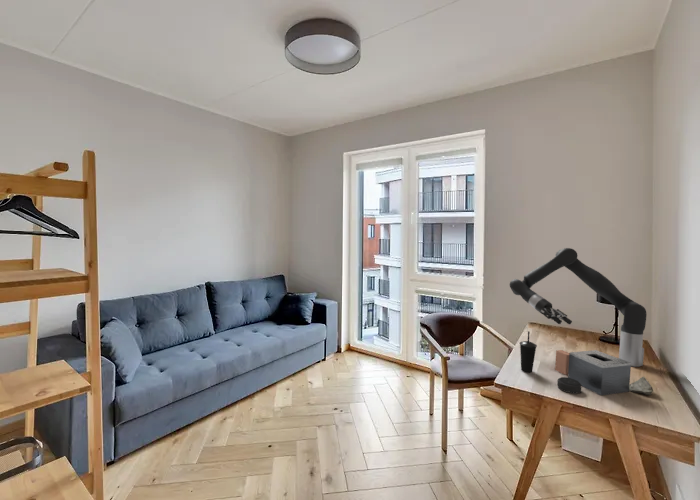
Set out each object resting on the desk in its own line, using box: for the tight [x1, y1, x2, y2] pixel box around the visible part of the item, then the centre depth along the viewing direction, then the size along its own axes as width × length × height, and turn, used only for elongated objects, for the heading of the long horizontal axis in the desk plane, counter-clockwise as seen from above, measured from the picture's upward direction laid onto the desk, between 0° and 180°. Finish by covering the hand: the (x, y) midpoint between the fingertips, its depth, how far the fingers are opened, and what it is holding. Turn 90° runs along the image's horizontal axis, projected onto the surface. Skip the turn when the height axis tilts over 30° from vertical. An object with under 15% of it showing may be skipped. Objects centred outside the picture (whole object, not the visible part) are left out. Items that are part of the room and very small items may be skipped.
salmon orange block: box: [554, 349, 570, 376], centre depth 167 cm, size 6×4×10 cm, turn 15°
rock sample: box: [629, 376, 654, 396], centre depth 148 cm, size 10×8×9 cm
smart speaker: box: [556, 376, 582, 394], centre depth 148 cm, size 9×9×4 cm
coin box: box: [567, 349, 632, 396], centre depth 153 cm, size 16×16×13 cm
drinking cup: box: [519, 331, 538, 374], centre depth 167 cm, size 8×8×20 cm
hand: (565, 322), depth 170 cm, fingers open, 8 cm apart
